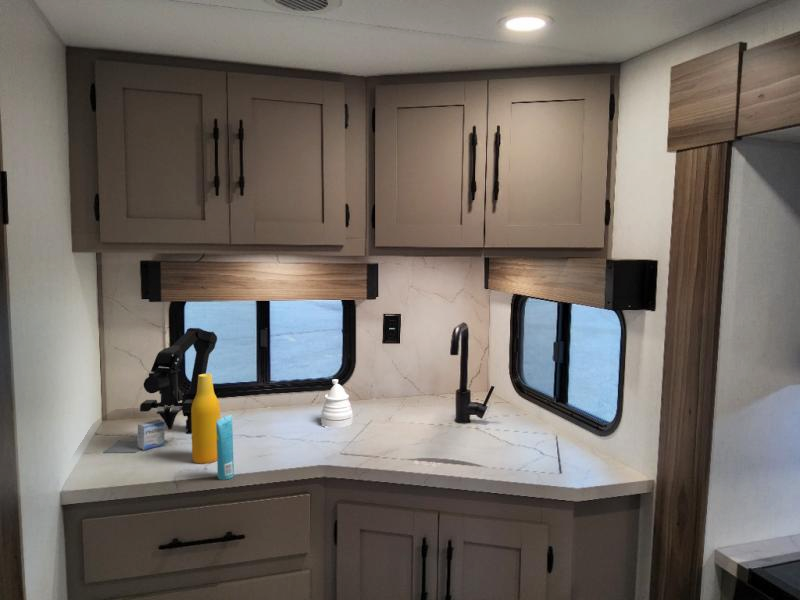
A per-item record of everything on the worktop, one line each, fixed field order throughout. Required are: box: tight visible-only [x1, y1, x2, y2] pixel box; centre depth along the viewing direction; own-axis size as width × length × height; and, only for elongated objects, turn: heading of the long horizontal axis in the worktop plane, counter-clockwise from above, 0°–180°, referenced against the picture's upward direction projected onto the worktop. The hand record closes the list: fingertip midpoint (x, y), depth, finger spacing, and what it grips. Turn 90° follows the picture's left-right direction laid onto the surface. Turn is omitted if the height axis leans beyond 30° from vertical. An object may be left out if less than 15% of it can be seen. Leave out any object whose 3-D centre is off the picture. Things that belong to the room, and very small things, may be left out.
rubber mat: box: [102, 439, 141, 454], centre depth 199 cm, size 11×12×1 cm
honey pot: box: [320, 378, 354, 427], centre depth 227 cm, size 13×13×18 cm
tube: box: [216, 413, 235, 481], centre depth 173 cm, size 7×5×19 cm, turn 167°
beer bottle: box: [191, 373, 221, 465], centre depth 187 cm, size 9×9×29 cm
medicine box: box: [137, 419, 166, 451], centre depth 199 cm, size 8×4×9 cm, turn 143°
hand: (170, 428), depth 199 cm, fingers closed
